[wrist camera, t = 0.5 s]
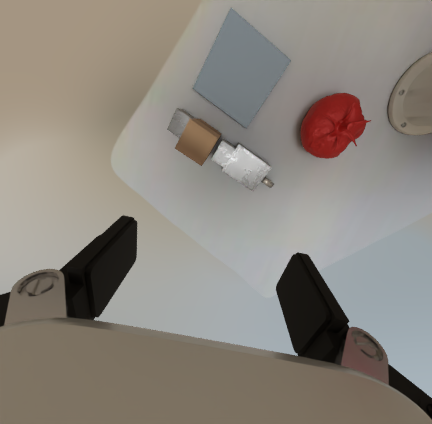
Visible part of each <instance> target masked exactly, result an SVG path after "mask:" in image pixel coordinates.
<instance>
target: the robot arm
mask: <svg viewBox="0 0 432 424" xmlns="http://www.w3.org/2000/svg"><path fill="white" fill-rule="evenodd" d="M388 115H389V119H390V122H391V124H392V126H393V127H394V128H395V129H396V130H397V131H399V132H401V133H404V134H407V135H424V134H429V133H432V52H431V53H429V54H427V55H426V56H424V57H422V58H421V59H419V60H418V61H417V62H416V63H415V64H413V65H412V66H411V67H410V68H409V69H408V70H407V71H406V72H405V74H404V75H403V76H402V77H401V79H400V80H399V82H398V83H397V85H396V87H395V89H394V90H393V93H392V95H391V98H390V102H389V107H388ZM136 253H137V221H135V220H134V218H133V217H128V216H121V217H120V218H119V219H118V220H117V221H116V222H115V223H114V224H112V225H111V226H110V228H108V229H107V230H106V231H105V232H104V233H103V234H101V235H99V236H98V237H96V238H95V239H94V240H93V241H92V242H91V243H90V244H88V245H87V246H86V247H85V248H84V249H83V250H82V251H81V252H80V253H78V254H77V255H76V256H75V257H74V258H73V259H72V260H70V261H69V262H68V263H67V264H66V265H65V266H64V267H63V268H62V269H60V270H55V269H46V270H39V271H36V272H33V273H31V274H28V275H26V276H24V277H23V278H22V279H20V280H19V281H18V282H17V283H16V284H15V285H14V286H13V288H12V290H11V292H9V293H6V294H2V295H0V424H432V398H431V397H429V396H428V395H427V394H426V393H424V392H423V391H422V390H421V389H419V388H418V387H417V386H416V385H414V384H413V383H412V382H411V381H409V380H408V379H407V378H406V377H404V376H403V375H402V374H400V373H399V372H398V371H397V370H395V369H394V368H393V367H392V366H390V365H389V364H388V358H387V355H386V353H385V351H384V349H383V348H382V346H381V345H380V344H379V342H378V341H377V340H376V339H375V338H373V337H372V336H371V335H370V334H369V333H367V332H366V331H364V330H362V329H360V328H357V327H351V328H349V326H348V324H347V323H348V322H349V320H348V318H347V317H346V315H345V313H344V312H343V310H342V309H341V307H340V305H339V304H338V302H337V300H336V299H335V297H334V296H333V294H332V292H331V291H330V289H329V288H328V286H327V284H326V283H325V281H324V279H323V278H322V276H321V275H320V273H319V271H318V270H317V268H316V267H315V265H314V263H313V262H312V260H311V259H310V257H309V256H308V255H307V254H302V253H296V254H294V255H293V256H292V257H291V259H290V261H289V263H288V265H287V267H286V268H285V270H284V272H283V274H282V276H281V278H280V280H279V281H278V283H277V286H276V291H277V295H278V298H279V301H280V305H281V308H282V311H283V315H284V318H285V322H286V325H287V328H288V332H289V335H290V338H291V342H292V345H293V348H294V351H295V352H296V353H298V356H295V355H290V354H284V353H279V352H273V351H267V350H262V349H257V348H252V347H246V346H241V345H235V344H230V343H224V342H219V341H212V340H208V339H202V338H195V337H191V336H185V335H179V334H173V333H167V332H162V331H156V330H151V329H145V328H139V327H133V326H127V325H121V324H114V323H108V322H102V321H95V320H94V318H95V317H99V316H100V314H101V313H102V312H103V310H104V309H105V307H106V306H107V304H108V302H109V301H110V299H111V298H112V296H113V295H114V293H115V292H116V290H117V289H118V287H119V286H120V284H121V282H122V281H123V280H124V278H125V276H126V275H127V273H128V272H129V270H130V269H131V267H132V266H133V264H134V262H135V260H136V255H137V254H136Z"/></svg>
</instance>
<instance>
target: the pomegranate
mask: <svg viewBox="0 0 432 424" xmlns="http://www.w3.org/2000/svg"><path fill="white" fill-rule="evenodd" d="M370 121H371V120H370ZM370 121H366V120H364V116H363V115H362V110H361V107H360V101H359V99H358V98H357V97H355V96H354V95H351V94H347V93H336V94H333V95H331V96H326V97H324V98H322V99H320V100H319V101H317V102H316V103H315V104H314V105H313V106H312V107H311V108H310V110H309V111H308V113H307V115H306V117H305V118H304V120H303V121H302V126H301V141H302V145H303V147H304V149H305V150H306V151H307V152H309V153H311V154H312V155H313V156H316V157H319V158H334V157H337V156H338V155H339V154H340V153H341V152H343V151H344V150H345V148H346V147H347V145H348V144H349V143H350V142H352V141H353V142H354V144H355V145H356V143H355V139H357V138H358V137H359V136H361V134H362V133H363V131H364V129H365V126H366V122H370ZM356 146H357V145H356Z"/></svg>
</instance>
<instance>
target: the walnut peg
mask: <svg viewBox="0 0 432 424" xmlns="http://www.w3.org/2000/svg"><path fill="white" fill-rule="evenodd" d="M220 136H221V133H220V132H218V131H217V130H215V129H214V128H213V127H211V126H210V125H208V124H207V123H206V122H204V121H203V120H201V119H189V121H188V123H187V125H186V127H185V129H184V131H183V133H182V135H181V137H180V139H179V141H178V143H177V145H176V147H175V149H177V150H178V151H180V152H181V153H183V154H184V155H186V156H187V157H189V158H190V159H192V160H193V161H195V162H196V163H198V164H199V165H201V166H202V164H203V163H204V162H205V160H206V159H207V157H208V156H209V154H210V152H211V151H212V149H213V147H214V146H215V144H216V142H217V141H218V139H219V137H220Z"/></svg>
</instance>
